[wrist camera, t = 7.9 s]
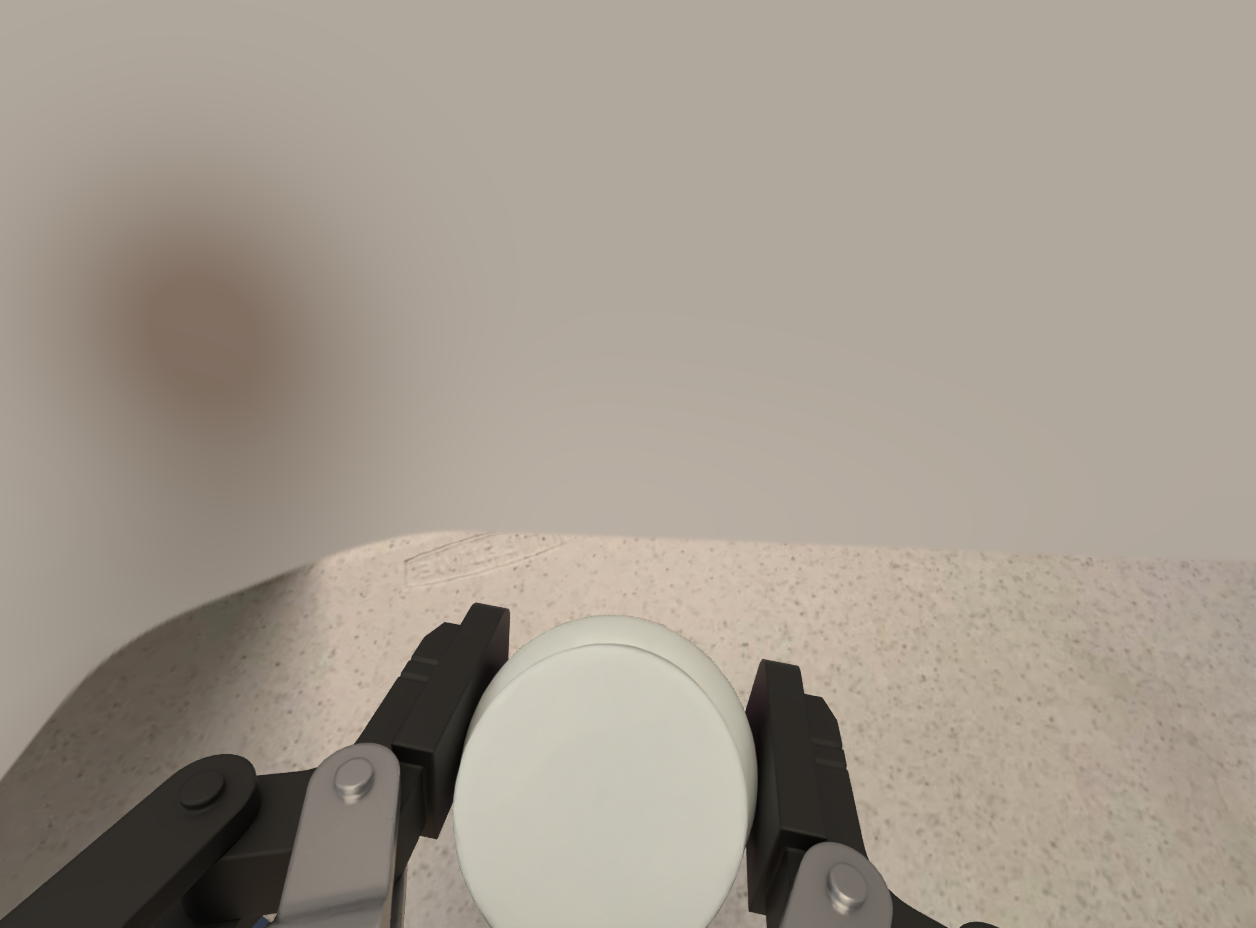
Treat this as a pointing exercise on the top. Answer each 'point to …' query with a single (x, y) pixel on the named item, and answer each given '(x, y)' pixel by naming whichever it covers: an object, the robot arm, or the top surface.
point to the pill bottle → (605, 782)
